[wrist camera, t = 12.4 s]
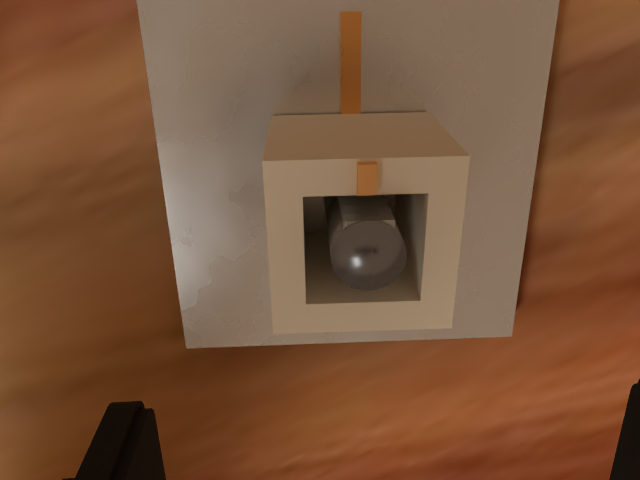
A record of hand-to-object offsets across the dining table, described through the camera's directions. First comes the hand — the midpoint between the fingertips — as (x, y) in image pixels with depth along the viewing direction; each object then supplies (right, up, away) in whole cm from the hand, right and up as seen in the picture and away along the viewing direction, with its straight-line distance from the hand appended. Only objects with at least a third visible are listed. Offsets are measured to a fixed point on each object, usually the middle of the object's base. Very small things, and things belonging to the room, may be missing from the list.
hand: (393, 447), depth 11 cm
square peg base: (0, +7, +14) cm, 16 cm away
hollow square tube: (0, +6, +13) cm, 14 cm away
